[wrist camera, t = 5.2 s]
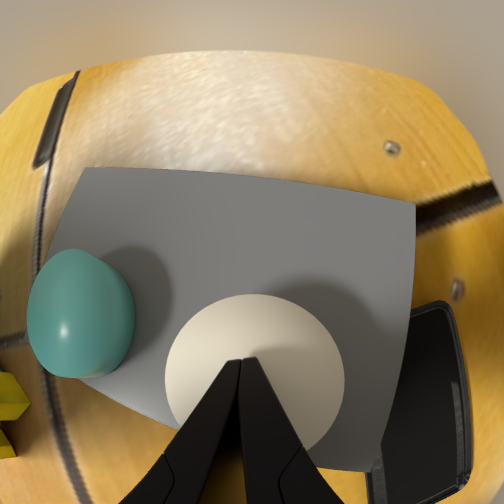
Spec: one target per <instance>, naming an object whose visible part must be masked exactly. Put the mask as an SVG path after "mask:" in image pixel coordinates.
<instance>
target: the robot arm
mask: <svg viewBox="0 0 504 504" xmlns="http://www.w3.org/2000/svg"><path fill="white" fill-rule="evenodd" d="M118 504H344V502H343V501H342V500H341V499H340V498H339V497H338V496H337V494H336V493H335V492H334V491H333V490H332V488H331V487H330V486H329V485H328V483H327V482H326V481H325V479H324V478H323V477H322V475H321V474H320V473H319V471H318V469H317V468H316V466H315V465H314V463H313V461H312V460H311V458H310V456H309V455H308V453H307V451H306V449H305V447H303V444H302V442H301V440H300V439H299V437H298V435H297V433H296V431H295V429H294V427H293V426H292V424H291V422H290V420H289V418H288V416H287V414H286V412H285V411H284V409H283V407H282V405H281V403H280V401H279V399H278V397H277V395H276V393H275V391H274V389H273V388H272V386H271V384H270V382H269V380H268V378H267V376H266V374H265V372H264V370H263V368H262V366H261V364H260V362H259V360H258V358H257V357H256V356H253V357H247V358H243V359H233V360H228V361H226V363H225V364H224V366H223V367H222V369H221V370H220V372H219V373H218V375H217V376H216V378H215V379H214V381H213V382H212V383H211V385H210V386H209V388H208V389H207V391H206V392H205V394H204V395H203V397H202V398H201V400H200V401H199V403H198V404H197V405H196V407H195V408H194V410H193V411H192V413H191V414H190V415H189V417H188V418H187V420H186V421H185V423H184V424H183V425H182V427H181V428H180V430H179V431H178V432H177V434H176V435H175V437H174V438H173V439H172V441H171V442H170V444H169V445H168V446H167V448H166V449H165V450H164V454H161V456H160V457H159V458H158V460H157V461H156V463H155V464H154V465H153V466H152V468H151V469H150V470H149V471H148V473H147V474H146V475H145V476H144V478H143V479H142V480H141V481H140V482H139V483H138V484H137V485H136V486H135V487H134V488H133V490H132V491H131V492H130V493H129V494H128V495H127V496H126V497H125V498H124V499H123V500H121V501H120V502H119V503H118Z"/></svg>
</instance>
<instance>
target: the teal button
mask: <svg viewBox="0 0 504 504" xmlns="http://www.w3.org/2000/svg"><path fill="white" fill-rule="evenodd" d="M134 326H135V308H134V301H133V297H132V294H131V291H130V288H129V286H128V284H127V282H126V280H125V279H124V277H123V276H122V275H121V274H120V272H118V271H117V270H116V269H115V268H113V267H112V266H110V265H108V264H107V263H105V262H103V261H101V260H99V259H98V258H96V257H94V256H92V255H91V254H89V253H87V252H85V251H83V250H80V249H67V250H64V251H61V252H59V253H57V254H56V255H54V256H53V257H52V258H50V259H49V260H48V261H47V262H46V263H45V265H44V266H43V267H42V268H41V270H40V272H39V273H38V275H37V277H36V279H35V281H34V283H33V285H32V288H31V291H30V295H29V299H28V305H27V331H28V337H29V341H30V344H31V347H32V350H33V352H34V354H35V356H36V358H37V359H38V361H39V362H40V363H41V365H42V366H43V367H44V368H45V369H46V370H48V371H49V372H50V373H52V374H54V375H56V376H59V377H68V378H94V377H101V376H104V375H106V374H108V373H110V372H111V371H113V370H114V369H115V368H116V367H117V366H118V365H119V364H120V363H121V361H122V360H123V359H124V357H125V355H126V354H127V351H128V349H129V347H130V344H131V341H132V338H133V333H134Z"/></svg>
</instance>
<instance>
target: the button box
mask: <svg viewBox="0 0 504 504" xmlns="http://www.w3.org/2000/svg"><path fill="white" fill-rule="evenodd" d="M415 240H416V206H415V204H414V203H410V202H405V201H401V200H396V199H391V198H387V197H382V196H377V195H372V194H367V193H361V192H356V191H350V190H345V189H339V188H333V187H327V186H321V185H314V184H308V183H301V182H294V181H286V180H279V179H271V178H262V177H254V176H244V175H235V174H224V173H213V172H200V171H186V170H169V169H147V168H85V169H84V171H83V173H82V175H81V177H80V179H79V181H78V183H77V185H76V187H75V189H74V191H73V193H72V195H71V197H70V199H69V201H68V203H67V206H66V208H65V210H64V212H63V215H62V217H61V219H60V222H59V224H58V227H57V229H56V232H55V234H54V237H53V239H52V242H51V245H50V247H49V250H48V253H47V256H46V258H45V261H44V264H43V266H44V265H45V263H46V262H47V261H48V260H49V259H50V258H52V257H53V256H54V255H56V254H57V253H59V252H61V251H64V250H67V249H80V250H83V251H85V252H87V253H89V254H91V255H92V256H94V257H96V258H98V259H99V260H101V261H103V262H105V263H107V264H108V265H110V266H112V267H113V268H115V269H116V270H117V271H118V272H120V274H121V275H122V276H123V277H124V279H125V280H126V282H127V284H128V286H129V288H130V291H131V294H132V297H133V301H134V308H135V326H134V333H133V338H132V341H131V344H130V347H129V349H128V351H127V354H126V355H125V357H124V359H123V360H122V361H121V363H120V364H119V365H118V366H117V367H116V368H115V369H114V370H113V371H111V372H110V373H108V374H106V375H104V376H101V377H94V378H77V379H79V380H80V381H82V382H84V383H85V384H87V385H89V386H90V387H92V388H94V389H95V390H97V391H99V392H100V393H102V394H104V395H106V396H108V397H109V398H111V399H113V400H115V401H117V402H119V403H121V404H122V405H124V406H126V407H128V408H130V409H132V410H134V411H136V412H138V413H141V414H143V415H145V416H147V417H149V418H151V419H153V420H156V421H158V422H160V423H163V424H165V425H167V426H170V427H172V428H175V429H177V430H180V428H181V427H180V426H179V424H178V423H177V421H176V419H175V417H174V415H173V413H172V411H171V409H170V406H169V403H168V399H167V394H166V388H165V369H166V363H167V358H168V355H169V352H170V349H171V347H172V345H173V343H174V340H175V338H176V337H177V335H178V334H179V332H180V331H181V329H182V328H183V327H184V326H185V324H186V323H187V322H188V321H189V320H190V319H191V318H192V317H193V316H195V315H196V314H197V313H198V312H200V311H201V310H202V309H204V308H205V307H207V306H209V305H211V304H213V303H215V302H217V301H220V300H222V299H225V298H229V297H233V296H237V295H245V294H262V295H269V296H274V297H278V298H282V299H285V300H287V301H290V302H292V303H295V304H296V305H298V306H300V307H302V308H303V309H305V310H306V311H308V312H309V313H310V314H312V315H313V316H314V317H315V318H316V319H317V320H318V321H319V322H320V323H321V324H322V325H323V326H324V327H325V328H326V330H327V331H328V332H329V333H330V335H331V337H332V338H333V340H334V342H335V344H336V345H337V348H338V351H339V353H340V356H341V359H342V364H343V368H344V379H345V381H344V394H343V399H342V403H341V406H340V409H339V412H338V414H337V416H336V418H335V420H334V422H333V424H332V425H331V427H330V428H329V430H328V431H327V432H326V434H325V435H324V436H323V437H322V438H321V439H320V440H319V441H318V442H317V443H316V444H315V445H314V446H312V447H311V448H310V449H308V450H307V453H308V455H309V456H310V458H311V460H312V461H313V463H314V465H315V466H316V467H318V468H326V469H334V470H343V471H355V472H370V471H371V468H372V466H373V463H374V460H375V458H376V455H377V452H378V449H379V446H380V444H381V441H382V438H383V434H384V431H385V428H386V425H387V421H388V418H389V415H390V411H391V407H392V404H393V400H394V396H395V392H396V388H397V384H398V379H399V375H400V370H401V365H402V360H403V355H404V350H405V344H406V338H407V332H408V325H409V317H410V310H411V301H412V291H413V279H414V265H415ZM24 341H25V342H27V343H28V344H29V345H30V346H31V344H30V341H29V337H28V331H27V326H26V331H25V336H24Z"/></svg>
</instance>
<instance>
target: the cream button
mask: <svg viewBox="0 0 504 504" xmlns="http://www.w3.org/2000/svg"><path fill="white" fill-rule="evenodd" d="M253 356H256V357H257V358H258V360H259V362H260V364H261V366H262V368H263V370H264V372H265V374H266V376H267V378H268V380H269V382H270V384H271V386H272V388H273V389H274V391H275V393H276V395H277V397H278V399H279V401H280V403H281V405H282V407H283V409H284V411H285V412H286V414H287V416H288V418H289V420H290V422H291V424H292V426H293V427H294V429H295V431H296V433H297V435H298V437H299V439H300V440H301V442H302V444H303V447H305V449H306V451H307V450H308V449H310V448H311V447H312V446H314V445H315V444H316V443H317V442H318V441H319V440H320V439H321V438H322V437H323V436H324V435H325V434H326V432H327V431H328V430H329V428H330V427H331V425H332V424H333V422H334V420H335V418H336V416H337V414H338V412H339V409H340V406H341V403H342V399H343V394H344V381H345V379H344V368H343V364H342V359H341V356H340V353H339V351H338V348H337V345H336V344H335V342H334V340H333V338H332V337H331V335H330V333H329V332H328V331H327V330H326V328H325V327H324V326H323V325H322V324H321V323H320V322H319V321H318V320H317V319H316V318H315V317H314V316H313V315H312V314H310V313H309V312H308V311H306V310H305V309H303V308H302V307H300V306H298V305H296V304H295V303H292V302H290V301H287V300H285V299H282V298H278V297H274V296H269V295H262V294H245V295H237V296H233V297H229V298H225V299H222V300H220V301H217V302H215V303H213V304H211V305H209V306H207V307H205V308H204V309H202V310H201V311H200V312H198V313H197V314H196V315H195V316H193V317H192V318H191V319H190V320H189V321H188V322H187V323H186V324H185V326H184V327H183V328H182V329H181V331H180V332H179V334H178V335H177V337H176V338H175V340H174V343H173V345H172V347H171V349H170V352H169V355H168V358H167V363H166V369H165V388H166V394H167V399H168V403H169V406H170V409H171V411H172V413H173V415H174V417H175V419H176V421H177V423H178V424H179V426H180V427H182V425H183V424H184V423H185V421H186V420H187V418H188V417H189V415H190V414H191V413H192V411H193V410H194V408H195V407H196V405H197V404H198V403H199V401H200V400H201V398H202V397H203V395H204V394H205V392H206V391H207V389H208V388H209V386H210V385H211V383H212V382H213V381H214V379H215V378H216V376H217V375H218V373H219V372H220V370H221V369H222V367H223V366H224V364H225V363H226V361H228V360H233V359H243V358H247V357H253Z"/></svg>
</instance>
